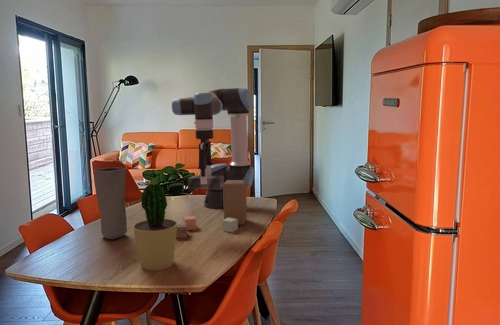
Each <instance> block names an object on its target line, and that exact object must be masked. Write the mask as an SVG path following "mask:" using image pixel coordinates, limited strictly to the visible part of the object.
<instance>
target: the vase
mask: <svg viewBox="0 0 500 325" xmlns="http://www.w3.org/2000/svg"><path fill="white" fill-rule="evenodd" d="M93 180H94V181H93V183H94V188H95V195H96V200H97V207H98V210H99V215H100V228H101V229H100V230H101V235H102V236H103V238H105V239H108V240H116V239H120V238H123V237H125V235H126V234H127V232H128V227H127V226H128V222H127V213H126V212H127V211H126V202H125V196H126V185H127V184H126V183H127V182H126V181H127V169H126V167H103V168H96V169H93Z"/></svg>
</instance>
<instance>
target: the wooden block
mask: <svg viewBox="0 0 500 325" xmlns="http://www.w3.org/2000/svg"><path fill="white" fill-rule="evenodd" d="M247 200H248V199H247V188H246V181H245V180H227V181H226V182H225V183H224V187H223V201H224V208H223V220H224V219H226V218H235V219H238V226H244V225H245V224H246V222H247V220H248V219H247V218H248V212H247V211H248V208H247V207H248V206H247V203H248V202H247Z"/></svg>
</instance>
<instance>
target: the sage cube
mask: <svg viewBox="0 0 500 325" xmlns="http://www.w3.org/2000/svg"><path fill="white" fill-rule="evenodd" d="M221 222H222V225H221V226H222V232H228V233H234V232H235V231H237V230H238V228H239V225H238V219H235V218H226V219H224V218H223V219H222V220H221Z"/></svg>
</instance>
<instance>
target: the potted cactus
mask: <svg viewBox="0 0 500 325" xmlns="http://www.w3.org/2000/svg"><path fill="white" fill-rule="evenodd" d="M160 184H161V183H149V184H147V185H146V186H145V187H142V188H143V189H142V188H140V189H142V191H141V193H140V197H139V200H140V202H141V209H142V212H144V213H145V214H143V216H145V217H146V219H145V220H141V221H138V222H136V223H134V224H133V225H132V229H133V233H134V234H133V235H134V239H135V244H136V248H137V253H138V257H139V263H140V267H141V269H143V270H145V271H161V270H165V269H168V267H169V268H170V267H172V266H173V265H174V259H175V252H176V241H177V240H176V239H177V238H176V232H177V224H178V221H177V220H175V219H171V218H167V215H166V214H167V211H166V210H168V206H170V205H169V204H168V201H169V199H167V195H168V194H166V192H165V189H164V187H165V186H161V185H160Z"/></svg>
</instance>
